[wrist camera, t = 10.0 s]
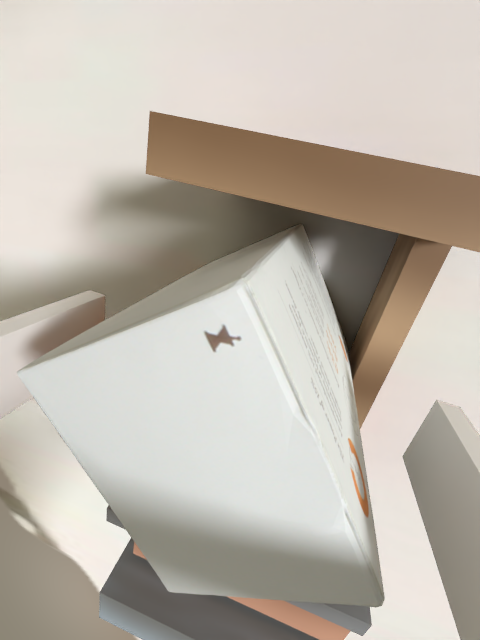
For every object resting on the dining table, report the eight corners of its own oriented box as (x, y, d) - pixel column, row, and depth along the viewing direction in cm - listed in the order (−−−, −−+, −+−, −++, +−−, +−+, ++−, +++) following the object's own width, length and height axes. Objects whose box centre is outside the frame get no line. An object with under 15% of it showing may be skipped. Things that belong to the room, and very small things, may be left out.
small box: (206, 263, 18) (2, 368, 7) (303, 220, 16) (249, 267, 4) (256, 372, 20) (164, 601, 9) (349, 348, 18) (397, 616, 6)
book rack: (320, 470, 22) (317, 728, 11) (191, 422, 24) (79, 607, 13) (445, 202, 14) (832, 200, 3) (239, 158, 16) (55, 61, 5)
